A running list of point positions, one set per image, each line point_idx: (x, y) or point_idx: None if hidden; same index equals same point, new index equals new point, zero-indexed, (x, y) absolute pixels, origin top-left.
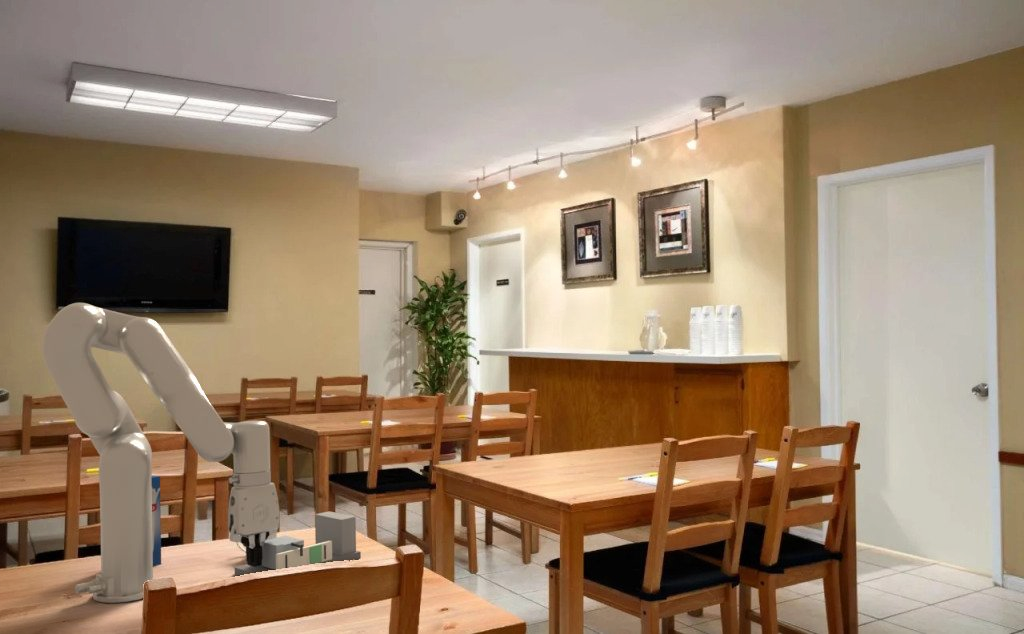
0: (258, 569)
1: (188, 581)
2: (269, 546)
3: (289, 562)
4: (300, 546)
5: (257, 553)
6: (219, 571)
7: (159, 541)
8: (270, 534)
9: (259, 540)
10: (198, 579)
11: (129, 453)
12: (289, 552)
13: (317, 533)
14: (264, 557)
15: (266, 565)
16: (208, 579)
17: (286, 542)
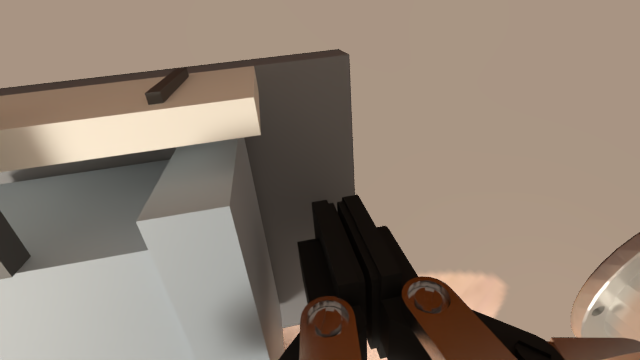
0: (301, 224)
1: (493, 297)
2: (255, 288)
3: (140, 89)
4: None
5: (360, 247)
6: (367, 342)
7: None
8: None
9: (359, 348)
10: (463, 300)
11: None
12: (104, 115)
13: None
14: (266, 270)
15: (261, 224)
16: (445, 283)
17: (61, 319)
